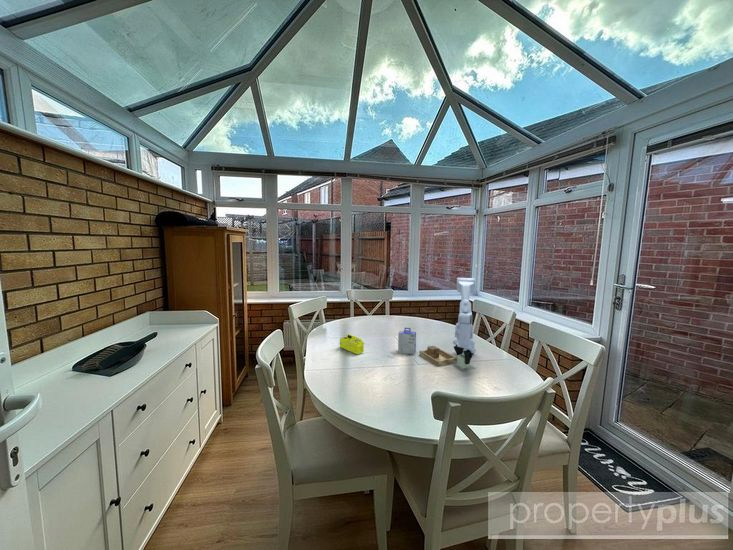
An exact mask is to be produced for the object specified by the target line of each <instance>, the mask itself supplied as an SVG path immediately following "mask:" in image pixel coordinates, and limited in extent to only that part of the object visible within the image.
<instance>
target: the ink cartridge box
mask: <svg viewBox="0 0 733 550" xmlns="http://www.w3.org/2000/svg"><path fill="white" fill-rule="evenodd" d="M411 330H412V329H411V327H404V329H403V330H399V332H398V336H397V340H398V341H397V353H398V354H399V353H400V354H405V355H406V354H407V355H409V354H410V355H415V354H416V351H417V349H416V348H417V331H411Z"/></svg>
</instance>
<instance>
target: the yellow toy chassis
mask: <svg viewBox="0 0 733 550" xmlns="http://www.w3.org/2000/svg"><path fill="white" fill-rule="evenodd" d="M339 347H340V348H342V349H344V350H346V351H348V352H350V353H353V354H355V355H360V354H362V353H364V351H365V349H364V341H363V339H362V338H360V337H358V336H354V335H352V334H350V333H347V334H346V335H345V337H341V338H339Z"/></svg>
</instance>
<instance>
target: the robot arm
mask: <svg viewBox="0 0 733 550" xmlns="http://www.w3.org/2000/svg"><path fill="white" fill-rule="evenodd" d="M475 289H476V278H475V277H457V278H456V290H457V292H458V293H460V296H461V299H460V302H459V313H458V319H457V321H458V322H456V324H455V327H454V338H456V339H453V341H452V343H453V344H452V345H453V349H454V350H453V353H455V354H456V356H457V355H461V354H464V356H465V364H469V363H470V364H471V360H472V358H473V356H474V355H476V352H477V349H476V348H475V340H474V339H473V338H474V326H473V313H472V302H471V301H470V295H471V294H472V293H475Z"/></svg>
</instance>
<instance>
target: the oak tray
mask: <svg viewBox="0 0 733 550" xmlns="http://www.w3.org/2000/svg"><path fill="white" fill-rule="evenodd" d="M418 353H419V354H418V355H419V356H420V357H421V358H424V359H425V360H427V361H428V362H429V363H431V364H432V365H434V366H436V367H441V366H446V365H450V364H455V363H457V356H454V355H452V354H450V353H449V352H447V351H445V350H443V349H441V348H439V357H437V358H432V357H430V356H429V355H427V349H423V350H419V352H418Z"/></svg>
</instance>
